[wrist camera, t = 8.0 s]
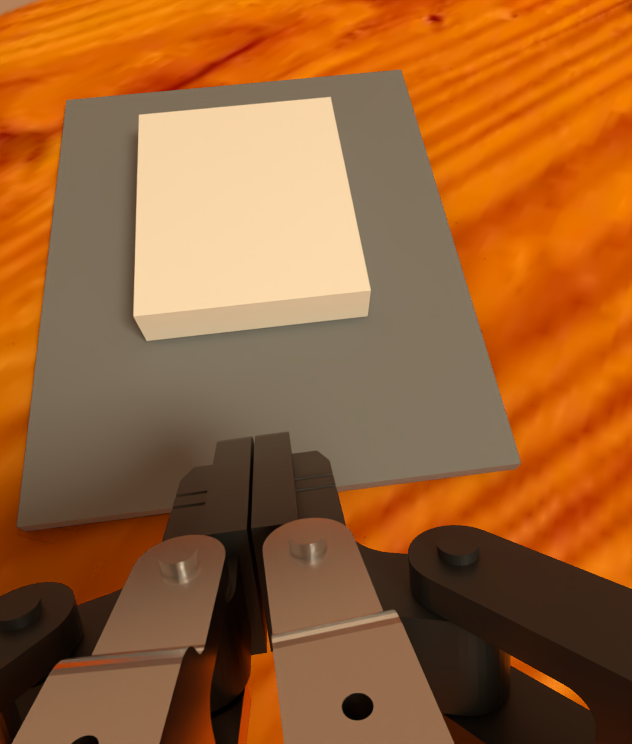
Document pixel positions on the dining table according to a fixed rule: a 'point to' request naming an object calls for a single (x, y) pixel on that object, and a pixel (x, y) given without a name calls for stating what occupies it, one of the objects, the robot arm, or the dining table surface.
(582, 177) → the dining table surface
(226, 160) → the tile
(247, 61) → the dining table surface
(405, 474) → the mat
